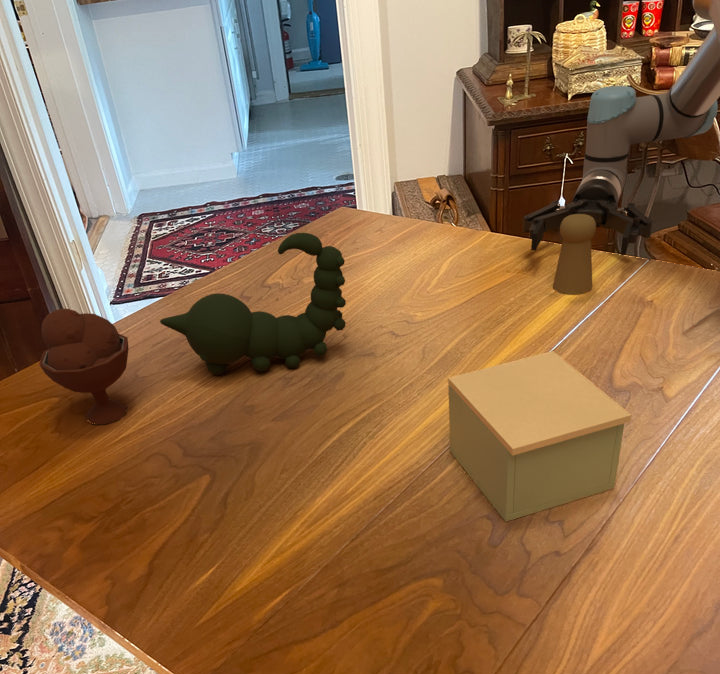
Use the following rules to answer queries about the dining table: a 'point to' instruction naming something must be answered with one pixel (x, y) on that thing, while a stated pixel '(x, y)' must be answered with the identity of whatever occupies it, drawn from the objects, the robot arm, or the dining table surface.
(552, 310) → the dining table surface
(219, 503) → the dining table surface
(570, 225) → the cork
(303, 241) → the toy figurine
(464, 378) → the caddy lid
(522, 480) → the box
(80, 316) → the ice cream bowl
